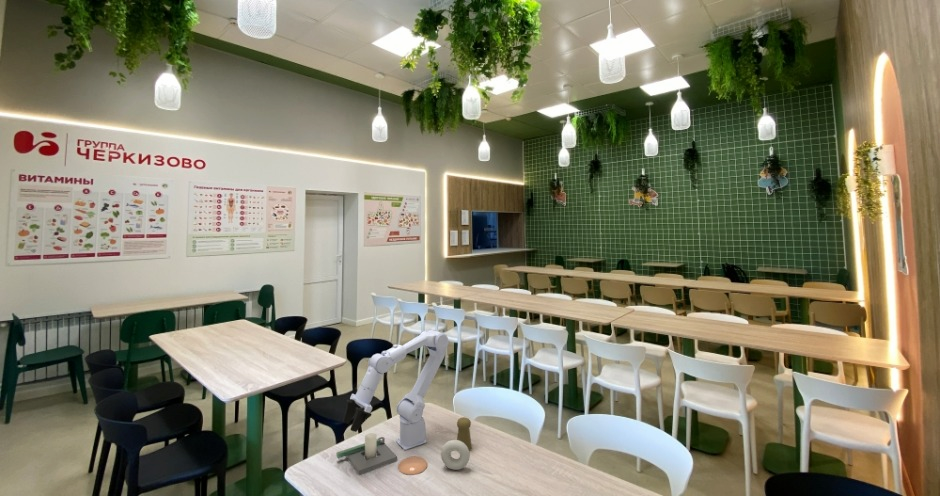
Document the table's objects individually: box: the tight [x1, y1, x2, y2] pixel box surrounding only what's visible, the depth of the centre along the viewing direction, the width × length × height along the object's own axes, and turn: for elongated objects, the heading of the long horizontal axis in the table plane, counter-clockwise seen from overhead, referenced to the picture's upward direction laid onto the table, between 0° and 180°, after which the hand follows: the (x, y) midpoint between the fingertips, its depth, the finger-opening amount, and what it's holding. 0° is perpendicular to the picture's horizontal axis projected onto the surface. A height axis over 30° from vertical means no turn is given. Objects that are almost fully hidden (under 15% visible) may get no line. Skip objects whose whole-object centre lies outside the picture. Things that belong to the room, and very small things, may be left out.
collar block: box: [345, 443, 398, 476], centre depth 138 cm, size 14×14×2 cm
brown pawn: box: [456, 416, 473, 452], centre depth 145 cm, size 6×6×11 cm
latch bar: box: [336, 436, 386, 459], centre depth 141 cm, size 18×2×2 cm, turn 126°
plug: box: [364, 433, 378, 460], centre depth 138 cm, size 4×4×8 cm
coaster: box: [397, 456, 428, 476], centre depth 134 cm, size 10×10×1 cm
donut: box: [440, 439, 471, 471], centre depth 132 cm, size 10×4×10 cm, turn 82°
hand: (349, 426), depth 132 cm, fingers open, 7 cm apart
